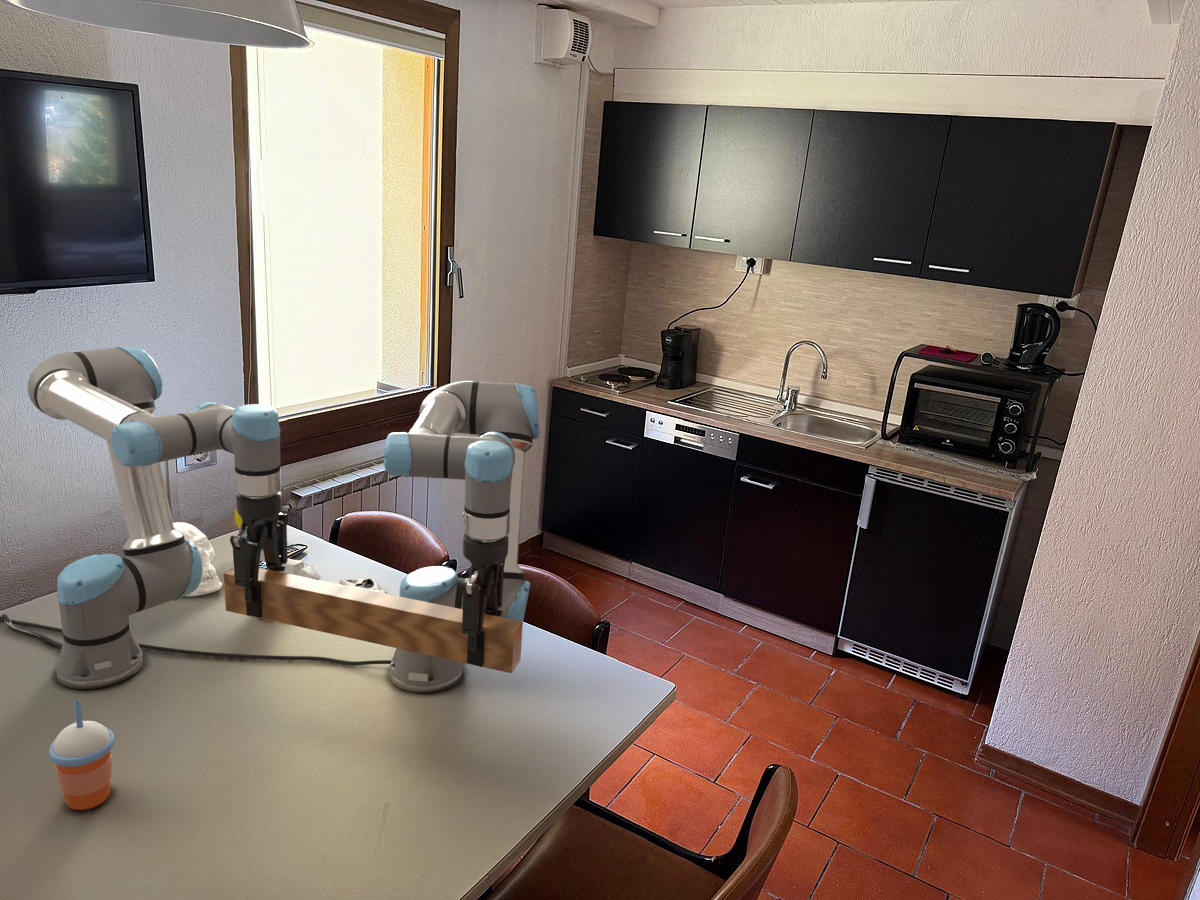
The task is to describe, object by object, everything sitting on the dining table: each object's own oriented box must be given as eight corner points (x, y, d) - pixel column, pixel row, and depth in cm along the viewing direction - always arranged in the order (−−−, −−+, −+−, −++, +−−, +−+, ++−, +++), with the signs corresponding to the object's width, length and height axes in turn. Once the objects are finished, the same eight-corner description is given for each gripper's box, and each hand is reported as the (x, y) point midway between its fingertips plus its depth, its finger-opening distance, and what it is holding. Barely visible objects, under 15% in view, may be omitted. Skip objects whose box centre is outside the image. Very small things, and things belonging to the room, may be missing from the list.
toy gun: (412, 591, 213) (384, 603, 204) (412, 600, 213) (383, 612, 205) (359, 571, 221) (329, 581, 213) (358, 580, 222) (329, 591, 213)
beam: (520, 660, 150) (522, 621, 148) (511, 673, 146) (513, 633, 143) (241, 600, 163) (239, 563, 160) (225, 610, 158) (223, 573, 156)
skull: (202, 605, 202) (199, 543, 198) (127, 587, 208) (123, 526, 203) (240, 584, 214) (238, 525, 210) (168, 567, 220) (165, 509, 216)
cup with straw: (91, 822, 135) (79, 724, 130) (41, 810, 136) (28, 713, 131) (132, 785, 143) (123, 692, 138) (85, 774, 145) (74, 682, 140)
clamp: (253, 565, 223) (254, 542, 221) (265, 560, 226) (266, 537, 224) (309, 593, 215) (310, 569, 213) (320, 588, 218) (321, 564, 216)
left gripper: (271, 473, 161) (275, 585, 168) (206, 504, 145) (213, 626, 152) (306, 480, 159) (308, 593, 166) (244, 512, 143) (249, 635, 150)
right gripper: (485, 512, 151) (481, 628, 158) (442, 550, 135) (439, 678, 142) (525, 519, 149) (519, 637, 156) (486, 558, 133) (481, 688, 140)
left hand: (263, 609), depth 159 cm, fingers closed on beam, 4 cm apart
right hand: (481, 656), depth 149 cm, fingers closed on beam, 4 cm apart
